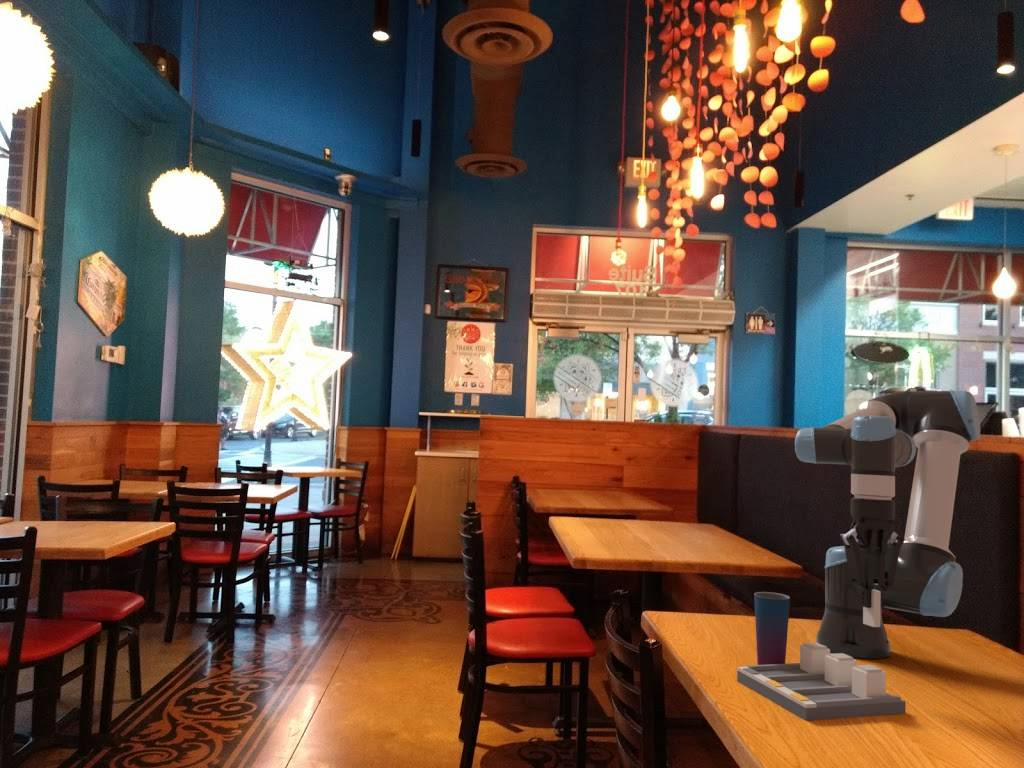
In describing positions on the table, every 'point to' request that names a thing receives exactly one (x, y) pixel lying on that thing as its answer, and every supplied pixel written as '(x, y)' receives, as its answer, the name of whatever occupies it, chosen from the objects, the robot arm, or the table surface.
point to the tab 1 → (813, 657)
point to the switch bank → (813, 693)
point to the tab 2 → (868, 681)
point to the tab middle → (839, 669)
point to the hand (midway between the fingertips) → (871, 625)
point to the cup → (771, 627)
